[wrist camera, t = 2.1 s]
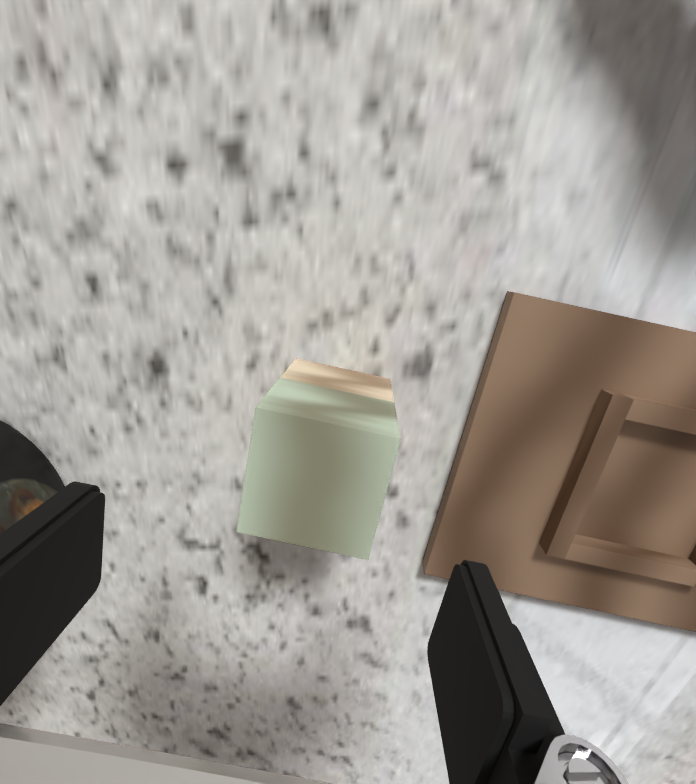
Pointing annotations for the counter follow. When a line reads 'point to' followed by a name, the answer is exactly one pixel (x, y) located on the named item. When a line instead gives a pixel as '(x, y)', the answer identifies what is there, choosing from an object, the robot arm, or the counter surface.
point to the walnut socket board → (579, 464)
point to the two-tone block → (320, 459)
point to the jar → (23, 477)
